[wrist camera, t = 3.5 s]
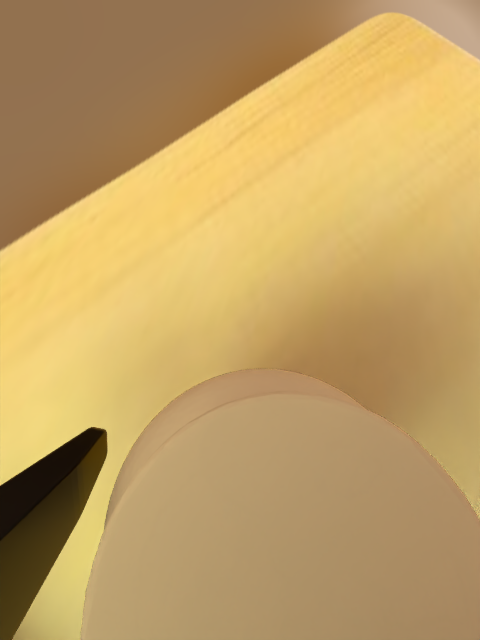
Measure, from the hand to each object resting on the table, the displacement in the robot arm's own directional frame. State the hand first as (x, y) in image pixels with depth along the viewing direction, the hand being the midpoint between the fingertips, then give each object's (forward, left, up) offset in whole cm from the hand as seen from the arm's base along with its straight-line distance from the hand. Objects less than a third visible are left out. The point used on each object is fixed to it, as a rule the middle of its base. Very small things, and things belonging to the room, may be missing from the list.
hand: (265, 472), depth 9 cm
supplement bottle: (0, +1, -7) cm, 7 cm away
